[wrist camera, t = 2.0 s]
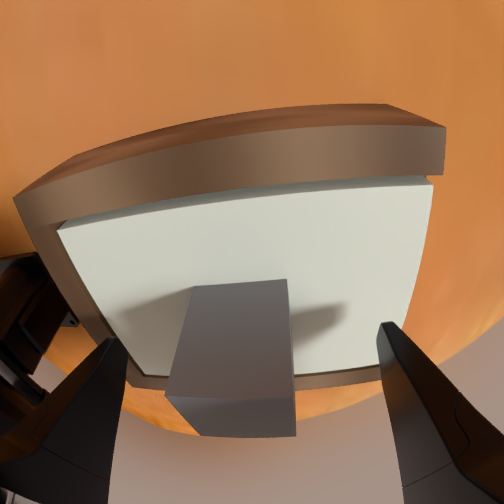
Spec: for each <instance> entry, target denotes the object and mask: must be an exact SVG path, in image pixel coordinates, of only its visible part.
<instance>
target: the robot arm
mask: <svg viewBox="0 0 504 504" xmlns="http://www.w3.org/2000/svg"><path fill="white" fill-rule="evenodd" d="M79 323H80V321H79V319H78V318H77V316H76V315H75V313H74V312H73V310H72V309H71V307H70V306H69V304H68V303H67V301H66V300H65V298H64V296H63V295H62V293H61V292H60V290H59V288H58V287H57V285H56V283H55V282H54V280H53V278H52V277H51V275H50V273H49V272H48V270H47V268H46V266H45V264H44V263H43V261H42V259H41V257H40V255H39V254H38V253H36V252H33V253H27V254H22V255H16V256H11V257H5V258H0V504H108V495H109V485H110V475H111V468H112V460H113V453H114V446H115V440H116V433H117V428H118V422H119V417H120V411H121V406H122V401H123V396H124V390H125V382H126V372H127V364H128V351H127V349H126V347H125V346H124V345H123V343H122V342H121V340H120V339H119V338H118V337H107V338H106V339H105V340H104V341H103V342H102V343H101V344H100V345H99V346H98V347H97V348H96V349H95V350H94V351H93V352H91V353H90V354H89V355H88V356H87V357H86V358H85V359H84V360H83V361H82V362H81V363H80V364H79V365H78V366H77V367H76V368H75V369H74V370H73V371H72V372H71V373H70V374H69V375H68V376H67V377H66V378H65V379H64V380H63V381H62V382H61V383H60V384H59V385H58V386H57V387H56V388H55V389H54V390H53V391H52V392H51V393H49V392H48V391H46V390H45V389H43V388H41V387H40V386H39V385H38V384H37V383H35V381H33V380H32V379H31V378H30V377H29V374H30V375H33V374H34V372H35V370H36V368H37V366H38V364H39V362H40V360H41V357H42V356H43V354H45V353H46V352H47V350H48V348H49V346H50V344H51V342H52V341H53V339H54V337H55V335H56V333H57V332H58V330H59V328H60V326H67V327H77V326H78V325H79ZM376 346H377V352H378V359H379V366H380V373H381V381H382V387H383V391H384V395H385V399H386V403H387V408H388V412H389V417H390V421H391V426H392V431H393V435H394V441H395V446H396V451H397V457H398V463H399V469H400V475H401V481H402V487H403V496H404V504H504V435H503V434H502V433H501V432H500V431H499V430H498V429H497V428H496V427H495V426H493V425H492V424H491V423H490V422H489V421H488V420H487V419H486V418H485V417H484V416H483V415H481V413H480V412H478V411H477V410H476V409H475V408H474V407H473V405H472V404H471V403H470V402H469V401H468V400H467V399H466V398H465V397H464V396H463V395H462V393H461V392H459V390H458V389H457V388H456V387H455V386H454V385H453V384H452V382H451V381H450V380H449V379H448V378H447V377H446V376H445V375H444V374H443V373H442V372H441V370H440V369H438V367H437V366H436V365H435V364H434V363H433V362H432V361H431V360H430V359H429V358H428V357H427V356H426V355H425V353H424V352H423V351H422V350H421V349H420V348H419V347H418V346H417V345H416V344H415V343H414V342H413V341H412V340H411V339H410V338H409V337H408V336H407V335H406V334H405V333H404V332H403V331H402V330H401V329H400V328H399V327H398V326H397V325H396V324H395V323H394V322H393V321H388V322H382V323H381V324H380V326H379V330H378V334H377V338H376Z"/></svg>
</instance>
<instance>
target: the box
mask: <svg viewBox="0 0 504 504" xmlns="http://www.w3.org/2000/svg"><path fill="white" fill-rule="evenodd" d="M445 145H446V127H444V126H442V125H439V124H437V123H435V122H432V121H430V120H428V119H425V118H423V117H420V116H418V115H415V114H413V113H410V112H407V111H405V110H402V109H399V108H397V107H394V106H391V105H388V104H328V105H310V106H296V107H285V108H275V109H266V110H258V111H251V112H244V113H237V114H231V115H225V116H219V117H213V118H208V119H203V120H198V121H193V122H188V123H184V124H179V125H175V126H171V127H166V128H162V129H158V130H155V131H151V132H147V133H143V134H140V135H136V136H133V137H129V138H126V139H122V140H119V141H116V142H113V143H110V144H107V145H104V146H101V147H98V148H95V149H92V150H89V151H86V152H83V153H81V154H78V155H75V156H73V157H71V158H70V159H68V160H66V161H65V162H63V163H62V164H60V165H59V166H57V167H55V168H54V169H52V170H51V171H49V172H48V173H46V174H45V175H43V176H42V177H41V178H39V179H38V180H36V181H35V182H33V183H32V184H31V185H29V186H28V187H26V188H25V189H24V190H22V191H21V192H20V193H18V194H17V195H16V196H14V197H13V200H14V203H15V205H16V207H17V210H18V212H19V214H20V217H21V219H22V221H23V223H24V225H25V227H26V230H27V232H28V234H29V236H30V238H31V240H32V242H33V244H34V246H35V248H36V250H37V252H38V253H39V255H40V257H41V259H42V261H43V263H44V264H45V266H46V268H47V270H48V272H49V273H50V275H51V277H52V278H53V280H54V282H55V283H56V285H57V287H58V288H59V290H60V292H61V293H62V295H63V296H64V298H65V300H66V301H67V303H68V304H69V306H70V307H71V309H72V310H73V312H74V313H75V315H76V316H77V318H78V319H79V321H80V322H81V323H82V325H83V326H84V328H85V329H86V330H87V332H88V333H89V334H90V336H91V337H92V339H93V340H94V341H95V342H96V344H97V345H98V346H99V345H100V344H101V343H102V342H103V341H104V340H105V339H106V338H107V337H118V336H117V335H116V334H115V332H114V331H113V329H112V328H111V326H110V325H109V323H108V322H107V320H106V318H105V317H104V315H103V314H102V312H101V311H100V309H99V307H98V306H97V304H96V303H95V301H94V299H93V298H92V296H91V294H90V293H89V291H88V289H87V288H86V286H85V284H84V282H83V281H82V279H81V277H80V275H79V273H78V272H77V270H76V268H75V266H74V264H73V262H72V260H71V258H70V256H69V255H68V253H67V251H66V249H65V247H64V245H63V243H62V241H61V238H60V236H59V234H58V232H57V230H58V229H59V228H60V227H61V226H62V225H63V224H64V223H65V222H66V221H67V220H69V219H73V218H77V217H82V216H86V215H91V214H95V213H100V212H105V211H109V210H114V209H119V208H124V207H129V206H135V205H140V204H145V203H151V202H156V201H162V200H168V199H174V198H180V197H186V196H193V195H199V194H206V193H213V192H220V191H227V190H235V189H243V188H251V187H259V186H268V185H277V184H287V183H297V182H308V181H320V180H333V179H347V178H364V177H384V176H417V175H423V176H424V177H425V178H426V175H443V170H444V159H445ZM168 379H169V376H163V375H149V374H145V373H144V372H143V371H142V369H141V368H140V367H139V365H138V364H137V363H136V362H135V360H134V359H133V357H132V356H131V355H130V353H129V352H128V364H127V372H126V380H127V382H128V383H129V384H130V385H131V386H132V387H135V388H144V389H153V390H165V391H166V387H167V383H168ZM377 380H381V373H380V366H379V364H376V365H370V366H363V367H357V368H350V369H342V370H334V371H326V372H317V373H306V374H294V382H295V391H300V390H311V389H321V388H330V387H338V386H346V385H353V384H359V383H365V382H371V381H377Z"/></svg>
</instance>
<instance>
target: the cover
mask: <svg viewBox="0 0 504 504" xmlns="http://www.w3.org/2000/svg"><path fill="white" fill-rule="evenodd" d="M433 186H434V185H433V184H432V183H431V182H430V181H428V180H427V179H426V178H425V177H424V176H423V175H417V176H384V177H364V178H347V179H333V180H320V181H308V182H297V183H287V184H277V185H268V186H259V187H251V188H243V189H235V190H227V191H220V192H213V193H206V194H199V195H193V196H186V197H180V198H174V199H168V200H162V201H156V202H151V203H145V204H140V205H135V206H129V207H124V208H119V209H114V210H109V211H105V212H100V213H95V214H91V215H86V216H82V217H77V218H73V219H69V220H67V221H66V222H65V223H64V224H63V225H62V226H61V227H60V228H59V229H58V230H57V232H58V234H59V236H60V238H61V241H62V243H63V245H64V247H65V249H66V251H67V253H68V255H69V256H70V258H71V260H72V262H73V264H74V266H75V268H76V270H77V272H78V273H79V275H80V277H81V279H82V281H83V282H84V284H85V286H86V288H87V289H88V291H89V293H90V294H91V296H92V298H93V299H94V301H95V303H96V304H97V306H98V307H99V309H100V311H101V312H102V314H103V315H104V317H105V318H106V320H107V322H108V323H109V325H110V326H111V328H112V329H113V331H114V332H115V334H116V335H117V336H118V338H119V339H120V340H121V342H122V343H123V345H124V346H125V347H126V349H127V351H128V352H129V353H130V355H131V356H132V357H133V359H134V360H135V362H136V363H137V364H138V365H139V367H140V368H141V369H142V371H143V372H144V373H145V374H149V375H163V376H169V379H168V383H167V387H166V391H165V395H164V396H165V397H166V398H167V399H168V400H169V401H170V403H171V404H172V405H173V406H174V407H175V408H176V410H177V411H178V412H179V413H180V414H181V415H182V416H183V417H184V418H185V420H186V421H187V422H188V423H189V424H190V425H191V426H192V427H193V428H194V429H195V430H196V431H197V432H198V433H199V434H200V435H201V436H212V437H234V438H236V437H237V438H270V437H291V436H292V437H293V436H296V410H295V382H294V374H306V373H317V372H326V371H334V370H342V369H350V368H357V367H363V366H370V365H376V364H379V359H378V352H377V346H376V338H377V334H378V330H379V326H380V324H381V323H382V322H388V321H393V322H394V323H395V324H396V325H397V326H398V327H399V328H400V329H402V326H403V323H404V320H405V317H406V314H407V310H408V307H409V304H410V300H411V297H412V293H413V290H414V286H415V282H416V278H417V274H418V270H419V266H420V262H421V257H422V253H423V248H424V243H425V238H426V233H427V227H428V221H429V215H430V209H431V202H432V194H433Z"/></svg>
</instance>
